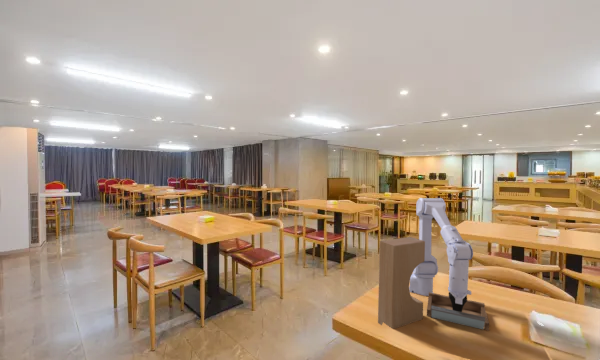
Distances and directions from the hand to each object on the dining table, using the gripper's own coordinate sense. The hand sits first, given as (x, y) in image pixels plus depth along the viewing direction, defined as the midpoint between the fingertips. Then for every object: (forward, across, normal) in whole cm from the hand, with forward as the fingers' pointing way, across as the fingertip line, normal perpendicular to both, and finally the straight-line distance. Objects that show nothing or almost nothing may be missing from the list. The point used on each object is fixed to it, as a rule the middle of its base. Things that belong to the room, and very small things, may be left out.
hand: (456, 314), depth 97 cm
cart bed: (+5, +7, 0) cm, 9 cm away
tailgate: (+3, +1, 0) cm, 4 cm away
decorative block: (+5, -6, +18) cm, 20 cm away
